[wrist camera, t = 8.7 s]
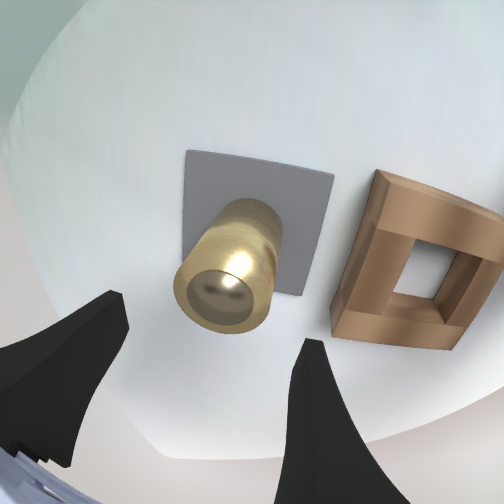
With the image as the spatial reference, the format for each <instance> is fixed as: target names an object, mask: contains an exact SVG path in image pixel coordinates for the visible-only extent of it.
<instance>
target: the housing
mask: <svg viewBox="0 0 504 504" xmlns="http://www.w3.org/2000/svg"><path fill="white" fill-rule="evenodd" d="M416 239H420V240H423V241H427V242H431V243H434V244H438V245H441V246H445V247H448V248H452V249H455V250H458V253H457V255H456V257H455V259H454V261H453V263H452V265H451V267H450V269H449V271H448V273H447V275H446V277H445V279H444V281H443V283H442V285H441V287H440V289H439V290H438V292H437V294H436V296H435V298H434V299H427V298H422V297H416V296H411V295H405V294H400V293H395V292H393V290H394V288H395V285H396V283H397V281H398V279H399V277H400V275H401V273H402V271H403V268H404V266H405V264H406V262H407V259H408V257H409V255H410V252H411V250H412V248H413V245H414V243H415V240H416ZM503 268H504V218H503V217H501V216H500V215H499V214H497V213H495V212H493V211H490V210H488V209H486V208H484V207H481V206H479V205H477V204H474V203H472V202H470V201H467V200H465V199H462V198H460V197H457V196H455V195H452V194H450V193H447V192H444V191H442V190H439V189H436V188H434V187H431V186H428V185H425V184H422V183H419V182H416V181H413V180H410V179H407V178H404V177H401V176H398V175H395V174H391V173H388V172H385V171H381V170H378V169H376V173H375V177H374V180H373V184H372V187H371V191H370V195H369V198H368V201H367V205H366V208H365V211H364V215H363V218H362V221H361V224H360V227H359V230H358V233H357V236H356V239H355V242H354V245H353V248H352V251H351V254H350V257H349V260H348V263H347V265H346V268H345V271H344V274H343V276H342V279H341V282H340V284H339V287H338V290H337V292H336V295H335V297H334V300H333V302H332V305H331V307H330V317H331V333H332V337H335V338H341V339H348V340H355V341H362V342H370V343H378V344H386V345H395V346H404V347H414V348H425V349H438V350H452V349H453V348H454V346H455V345H456V344H457V342H458V341H459V340H460V338H461V337H462V335H463V334H464V333H465V331H466V330H467V328H468V327H469V325H470V324H471V323H472V321H473V320H474V318H475V317H476V315H477V313H478V312H479V310H480V309H481V307H482V306H483V304H484V302H485V301H486V299H487V297H488V296H489V294H490V292H491V290H492V289H493V287H494V285H495V283H496V282H497V280H498V278H499V276H500V274H501V272H502V270H503Z"/></svg>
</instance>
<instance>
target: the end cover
mask: <svg viewBox="0 0 504 504" xmlns="http://www.w3.org/2000/svg"><path fill="white" fill-rule="evenodd" d="M282 238H283V226H282V222H281V220H280V218H279V216H278V214H277V213H276V212H275V210H274V209H273V208H272V207H270V206H269V205H268V204H266V203H264V202H262V201H260V200H256V199H251V198H243V199H238V200H235V201H232V202H230V203H229V204H227V205H226V206H225V207H224V208H223V209H222V210H221V212H220V213H219V214H218V216H217V217H216V218H215V220H214V221H213V222H212V224H211V225H210V226H209V228H208V229H207V230H206V232H205V233H204V235H203V236H202V237H201V239H200V240H199V241H198V243H197V244H196V246H195V247H194V248H193V250H192V251H191V253H190V254H189V255H188V257H187V258H186V260H185V261H184V262H183V264H182V265H181V267H180V268H179V270H178V271H177V273H176V275H175V278H174V285H173V287H174V294H175V297H176V300H177V302H178V304H179V306H180V307H181V309H182V310H183V311H184V313H185V314H186V315H187V316H188V317H189V318H190V319H192V320H193V321H194V322H196V323H197V324H199V325H200V326H202V327H204V328H206V329H209V330H211V331H214V332H218V333H224V334H240V333H245V332H248V331H250V330H253V329H255V328H256V327H258V326H259V325H260V324H261V323H262V322H263V321H264V320H265V318H266V317H267V315H268V312H269V309H270V304H271V299H272V293H273V288H274V283H275V277H276V272H277V266H278V261H279V255H280V249H281V244H282Z"/></svg>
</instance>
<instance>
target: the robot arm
mask: <svg viewBox="0 0 504 504" xmlns="http://www.w3.org/2000/svg"><path fill="white" fill-rule="evenodd" d="M128 331H129V324H128V320H127V315H126V311H125V306H124V301H123V296H122V294H121V293H118V292H115V291H112V290H109V291H107V292H105V293H104V294H102V295H100V296H99V297H97V298H96V299H94V300H92V301H91V302H89V303H88V304H86V305H85V306H83V307H81V308H80V309H78V310H77V311H75V312H73V313H72V314H70V315H69V316H67V317H65V318H64V319H62V320H60V321H59V322H57V323H55V324H53V325H52V326H50V327H48V328H47V329H45V330H43V331H41V332H39V333H37V334H35V335H33V336H31V337H29V338H26V339H24V340H21V341H19V342H16V343H14V344H11V345H9V346H6V347H3V348H0V504H71V503H72V504H102V503H100V502H98V501H96V500H94V499H92V498H91V497H89V496H87V495H85V494H83V493H81V492H80V491H78V490H76V489H75V488H73V487H71V486H70V485H68V484H67V483H65V482H63V481H62V480H60V479H59V478H57V477H56V476H54V475H53V474H51V473H49V472H48V471H47V470H45V469H44V468H43V467H41V466H40V465H39V464H37V462H38V460H39V459H41V460H42V461H43V462H45V463H47V462H48V460H49V459H51V460H52V461H54V462H56V463H57V464H58V465H60V466H61V467H63V468H67V467H70V466H71V461H72V456H73V451H74V446H75V443H76V439H77V436H78V432H79V429H80V426H81V423H82V421H83V418H84V415H85V412H86V410H87V408H88V405H89V403H90V400H91V398H92V396H93V394H94V392H95V390H96V388H97V386H98V385H99V383H100V382H101V380H102V378H103V377H104V375H105V373H106V372H107V370H108V368H109V367H110V365H111V364H112V362H113V360H114V359H115V357H116V355H117V354H118V352H119V350H120V349H121V347H122V344H123V342H124V340H125V338H126V336H127V333H128ZM43 485H44V486H46V487H47V488H49V489H50V490H52V491H53V492H55V493H56V494H58V495H59V496H61V497H62V498H61V497H59V496H58V495H55V494H54V493H52V492H50V491H48V490H46V489H44V486H43ZM63 498H64V499H63ZM66 500H67V501H66ZM69 502H70V503H69ZM274 504H410V502H409V501H408V500H407V499H406V498H405V497H404V496H403V495H402V494H401V493H400V492H399V490H398V489H397V488H396V487H395V486H394V485H393V484H392V482H391V481H390V480H389V478H388V477H387V476H386V475H385V473H384V472H383V471H382V469H381V468H380V466H379V465H378V463H377V462H376V460H375V459H374V457H373V456H372V455H371V453H370V452H369V450H368V448H367V447H366V445H365V443H364V442H363V440H362V438H361V436H360V434H359V433H358V431H357V429H356V427H355V425H354V423H353V421H352V419H351V417H350V415H349V413H348V410H347V408H346V406H345V404H344V401H343V399H342V396H341V394H340V391H339V389H338V386H337V384H336V381H335V378H334V375H333V373H332V370H331V367H330V364H329V361H328V357H327V354H326V351H325V347H324V343H323V342H322V341H320V340H314V339H308V338H305V341H304V343H303V346H302V348H301V351H300V353H299V355H298V358H297V360H296V363H295V365H294V367H293V370H292V375H291V381H290V388H289V395H288V414H287V433H286V447H285V455H284V460H283V465H282V470H281V475H280V480H279V484H278V489H277V493H276V497H275V501H274Z"/></svg>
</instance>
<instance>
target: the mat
mask: <svg viewBox="0 0 504 504" xmlns="http://www.w3.org/2000/svg"><path fill="white" fill-rule="evenodd" d="M333 181H334V174H330V173H325V172H321V171H316V170H312V169H307V168H302V167H298V166H293V165H288V164H282V163H277V162H271V161H266V160H260V159H254V158H248V157H242V156H235V155H228V154H221V153H213V152H205V151H197V150H187V151H186V163H185V181H184V204H183V262H184V261H185V260H186V258H187V257H188V255H189V254H190V253H191V251H192V250H193V248H194V247H195V246H196V244H197V243H198V241H199V240H200V239H201V237H202V236H203V235H204V233H205V232H206V230H207V229H208V228H209V226H210V225H211V224H212V222H213V221H214V220H215V218H216V217H217V216H218V214H219V213H220V212H221V210H222V209H223V208H224V207H225V206H226V205H227V204H229V203H230V202H232V201H235V200H238V199H243V198H251V199H256V200H260V201H262V202H264V203H266V204H268V205H269V206H270V207H272V208H273V209H274V210H275V212H276V213H277V214H278V216H279V218H280V220H281V222H282V226H283V238H282V244H281V249H280V255H279V261H278V266H277V272H276V277H275V283H274V288H273V291H277V292H282V293H287V294H292V295H297V296H302V294H303V290H304V287H305V284H306V280H307V277H308V274H309V270H310V267H311V264H312V260H313V257H314V253H315V250H316V246H317V242H318V239H319V235H320V232H321V228H322V224H323V220H324V217H325V213H326V209H327V205H328V201H329V197H330V193H331V189H332V185H333Z"/></svg>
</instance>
